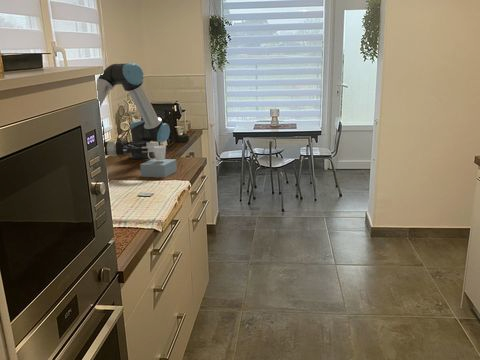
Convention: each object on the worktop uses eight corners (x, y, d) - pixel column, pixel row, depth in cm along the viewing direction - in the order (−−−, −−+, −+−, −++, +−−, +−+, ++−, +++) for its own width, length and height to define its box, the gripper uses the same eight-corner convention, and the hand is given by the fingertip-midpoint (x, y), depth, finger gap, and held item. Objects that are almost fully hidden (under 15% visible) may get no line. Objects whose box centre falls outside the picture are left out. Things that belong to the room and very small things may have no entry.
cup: (165, 162, 241) (164, 147, 239) (147, 163, 241) (145, 148, 240) (168, 160, 248) (167, 145, 246) (150, 160, 248) (148, 146, 246)
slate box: (154, 170, 255) (153, 158, 253) (177, 171, 251) (176, 159, 249) (141, 177, 241) (140, 164, 239) (165, 178, 237) (164, 165, 235)
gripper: (122, 150, 256) (160, 149, 256) (111, 159, 232) (153, 158, 232) (121, 137, 254) (159, 136, 254) (110, 145, 230) (151, 144, 230)
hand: (156, 146), depth 243 cm, fingers open, 13 cm apart
